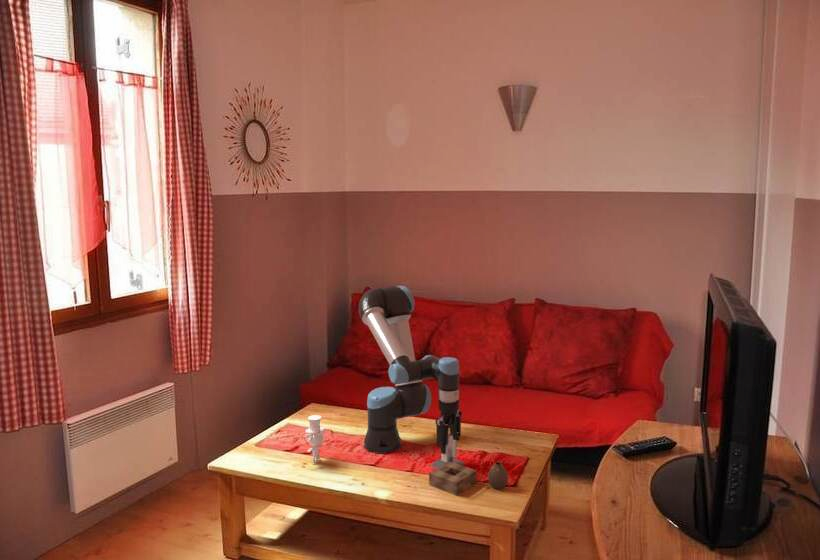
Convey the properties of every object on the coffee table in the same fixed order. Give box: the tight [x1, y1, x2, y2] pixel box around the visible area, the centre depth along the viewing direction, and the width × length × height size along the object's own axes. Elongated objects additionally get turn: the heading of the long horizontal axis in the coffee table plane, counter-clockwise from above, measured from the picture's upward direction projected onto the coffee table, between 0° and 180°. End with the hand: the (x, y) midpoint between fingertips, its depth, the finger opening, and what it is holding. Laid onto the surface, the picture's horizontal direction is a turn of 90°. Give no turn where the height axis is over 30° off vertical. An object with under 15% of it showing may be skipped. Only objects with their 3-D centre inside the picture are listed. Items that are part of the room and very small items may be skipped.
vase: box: [487, 461, 509, 490], centre depth 229 cm, size 7×7×9 cm
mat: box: [429, 458, 467, 469], centre depth 246 cm, size 10×10×1 cm
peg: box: [445, 433, 454, 464], centre depth 244 cm, size 3×3×12 cm
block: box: [428, 461, 478, 497], centre depth 230 cm, size 12×12×5 cm
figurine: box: [303, 414, 326, 464], centre depth 249 cm, size 10×8×18 cm
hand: (448, 458), depth 245 cm, fingers open, 4 cm apart
